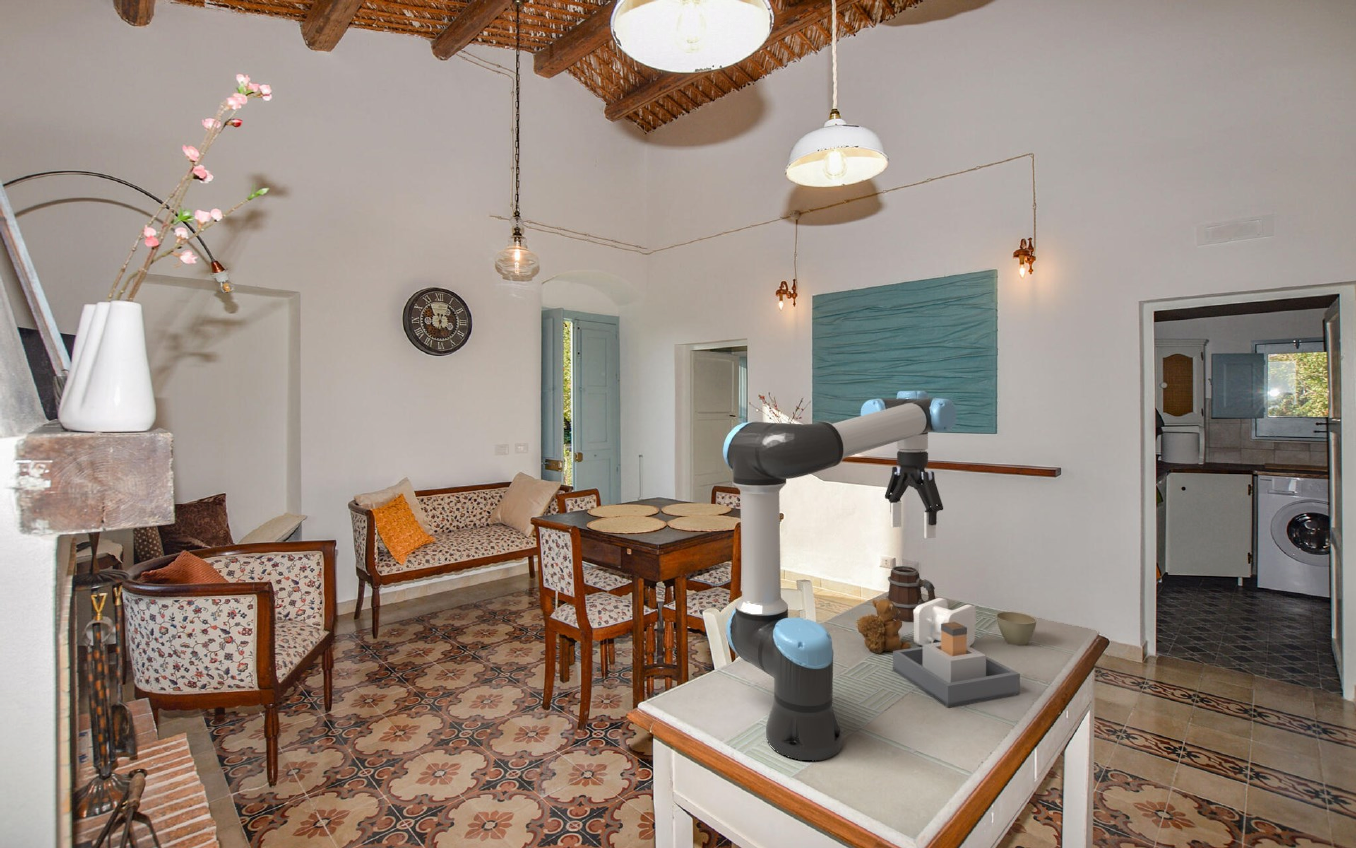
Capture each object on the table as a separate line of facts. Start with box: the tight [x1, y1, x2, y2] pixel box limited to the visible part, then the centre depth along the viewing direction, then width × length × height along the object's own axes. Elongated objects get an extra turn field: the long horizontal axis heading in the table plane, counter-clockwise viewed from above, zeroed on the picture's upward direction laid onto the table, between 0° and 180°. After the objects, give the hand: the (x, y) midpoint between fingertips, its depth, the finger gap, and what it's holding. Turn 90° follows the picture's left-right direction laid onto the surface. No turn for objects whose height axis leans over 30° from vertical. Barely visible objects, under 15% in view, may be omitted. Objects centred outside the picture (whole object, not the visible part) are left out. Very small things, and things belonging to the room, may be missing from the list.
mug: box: [885, 565, 936, 623], centre depth 193 cm, size 16×12×15 cm
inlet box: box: [892, 641, 1021, 709], centre depth 149 cm, size 20×20×8 cm
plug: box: [940, 622, 967, 656], centre depth 149 cm, size 4×4×10 cm
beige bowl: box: [995, 611, 1037, 646], centre depth 173 cm, size 10×10×7 cm
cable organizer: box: [913, 597, 976, 647], centre depth 171 cm, size 15×11×12 cm
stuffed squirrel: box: [855, 598, 912, 655], centre depth 170 cm, size 10×14×13 cm
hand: (912, 532), depth 158 cm, fingers open, 13 cm apart
